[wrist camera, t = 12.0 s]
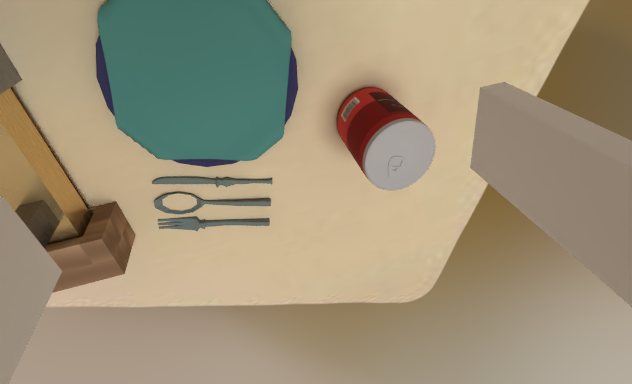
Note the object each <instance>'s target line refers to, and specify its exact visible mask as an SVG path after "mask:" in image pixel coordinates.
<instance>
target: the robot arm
mask: <svg viewBox="0 0 632 384" xmlns="http://www.w3.org/2000/svg"><path fill="white" fill-rule="evenodd" d="M470 168H471V169H472V170H474V171H475V172H476V173H477V174H478V175H479V176H480V177H482V178H483V179H484V180H485V181H486V182H487V183H489V184H490V185H491V186H492V187H493V188H495V189H496V190H497V191H498V192H499V193H500V194H501V195H503V196H504V197H505V198H506V199H507V200H508V201H510V202H511V203H512V204H513V205H514V206H515V207H517V208H518V209H519V210H520V211H521V212H522V213H523V214H525V215H526V216H527V217H528V218H529V219H530V220H532V221H533V222H534V223H535V224H536V225H537V226H539V227H540V228H541V229H542V230H543V231H544V232H546V233H547V234H548V235H549V236H550V237H551V238H552V239H554V240H555V241H556V242H557V243H558V244H559V245H561V246H562V247H563V248H564V249H565V250H567V251H568V252H569V253H570V254H571V255H572V256H573V257H574V258H576V259H577V260H578V261H579V262H580V263H581V264H583V265H584V266H585V267H586V268H587V269H588V270H590V271H591V272H592V273H593V274H594V275H595V276H597V277H598V278H599V279H600V280H601V281H602V282H603V283H605V284H606V285H607V286H608V287H609V288H610V289H612V290H613V291H614V292H615V293H616V294H617V295H619V296H620V297H621V298H622V299H623V300H624V301H626V302H627V303H628V304H629V305H630V306H631V307H632V141H631V140H629V139H627V138H624V137H622V136H620V135H618V134H616V133H614V132H611V131H609V130H607V129H605V128H602V127H601V126H598V125H596V124H594V123H592V122H590V121H588V120H585V119H583V118H581V117H579V116H577V115H575V114H572V113H570V112H568V111H566V110H564V109H562V108H560V107H557V106H555V105H553V104H551V103H549V102H546V101H544V100H542V99H540V98H538V97H536V96H534V95H531V94H529V93H527V92H525V91H523V90H521V89H518V88H516V87H514V86H512V85H510V84H508V83H505V82H502V83H498V84H493V85H489V86H485V87H480V93H479V101H478V109H477V118H476V126H475V134H474V142H473V150H472V158H471V166H470ZM61 273H62V270H61V269H60V268H59V266H58V265H57V264H56V263H55V261H54V260H53V259H52V258H51V256H50V255H49V254H48V253H47V251H46V250H45V249H44V247H43V246H42V245H41V244H40V242H39V241H38V240H37V239H36V237H35V236H34V235H33V234H32V232H31V231H30V230H29V229H28V227H27V226H26V225H25V223H24V222H23V221H22V220H21V218H20V217H19V216H18V215H17V213H16V212H15V211H14V210H13V208H12V207H11V206H10V205H9V203H8V202H7V201H6V199H5V198H4V197H1V198H0V384H9V381H10V380H11V377H12V375H13V373H14V371H15V369H16V367H17V365H18V363H19V361H20V358H21V357H22V354H23V352H24V350H25V348H26V346H27V344H28V342H29V340H30V338H31V336H32V334H33V331H34V329H35V327H36V325H37V323H38V321H39V319H40V317H41V315H42V313H43V311H44V308H45V306H46V304H47V302H48V300H49V298H50V296H51V294H52V292H53V290H54V288H55V285H56V283H57V281H58V279H59V277H60V275H61Z"/></svg>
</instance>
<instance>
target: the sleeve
mask: <svg viewBox="0 0 632 384" xmlns="http://www.w3.org/2000/svg"><path fill="white" fill-rule="evenodd" d="M21 80H22V79H21V77H20V75H19V74H18V72H17V71H16V69H15V67H14V66H13V64H12V62H11V61H10V59H9V58H8V56H7V54H6V53H5V51H4V49H3V48H2V46H1V44H0V94H2V93H3V92H5V91H6V90H8V89H9V88H11V87H12V86H14V85H15V84H17V83H18V82H19V81H21Z"/></svg>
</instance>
